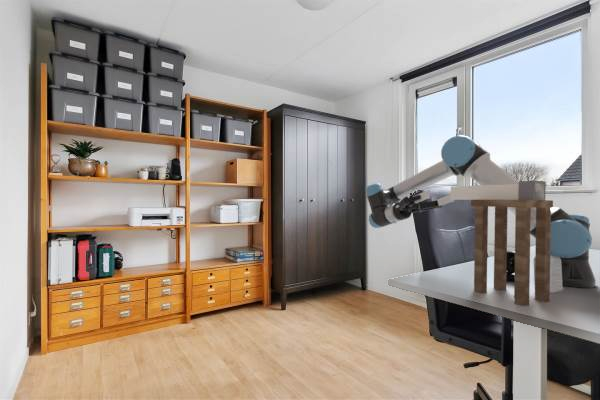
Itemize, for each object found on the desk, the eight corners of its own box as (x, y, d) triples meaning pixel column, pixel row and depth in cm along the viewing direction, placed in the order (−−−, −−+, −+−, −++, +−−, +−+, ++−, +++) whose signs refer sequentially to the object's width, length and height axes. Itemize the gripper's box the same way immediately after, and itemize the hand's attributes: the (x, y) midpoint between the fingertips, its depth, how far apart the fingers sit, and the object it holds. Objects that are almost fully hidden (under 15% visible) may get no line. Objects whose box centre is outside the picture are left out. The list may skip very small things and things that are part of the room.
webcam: (505, 282, 106) (505, 253, 106) (491, 277, 114) (492, 249, 114) (527, 282, 106) (528, 253, 106) (512, 277, 114) (513, 249, 114)
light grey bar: (459, 199, 110) (460, 185, 110) (545, 200, 85) (545, 181, 85) (449, 199, 108) (449, 184, 108) (533, 200, 83) (534, 180, 83)
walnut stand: (495, 286, 101) (496, 200, 101) (551, 301, 86) (552, 200, 86) (469, 289, 96) (470, 199, 96) (523, 306, 82) (525, 199, 82)
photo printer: (549, 289, 102) (547, 251, 103) (565, 291, 98) (563, 252, 99) (532, 291, 97) (530, 251, 98) (548, 294, 93) (546, 253, 94)
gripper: (420, 221, 136) (464, 208, 119) (377, 218, 124) (420, 202, 107) (416, 205, 139) (460, 189, 121) (374, 201, 127) (416, 182, 109)
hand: (441, 195), depth 114 cm, fingers open, 13 cm apart
